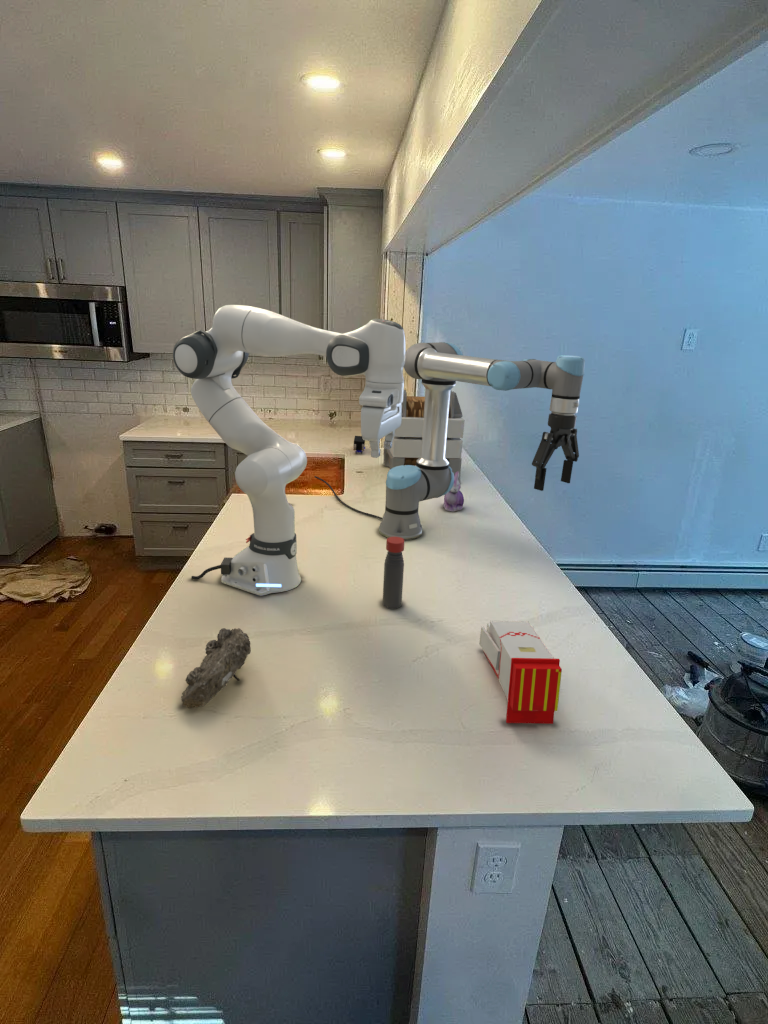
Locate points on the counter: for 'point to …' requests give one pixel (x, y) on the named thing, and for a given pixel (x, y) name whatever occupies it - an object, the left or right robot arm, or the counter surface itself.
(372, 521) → the counter surface
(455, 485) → the figurine
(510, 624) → the toy
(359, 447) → the figurine character
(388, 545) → the cap
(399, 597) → the bottle
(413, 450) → the white wooden crate
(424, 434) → the right robot arm
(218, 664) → the fossil
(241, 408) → the left robot arm
